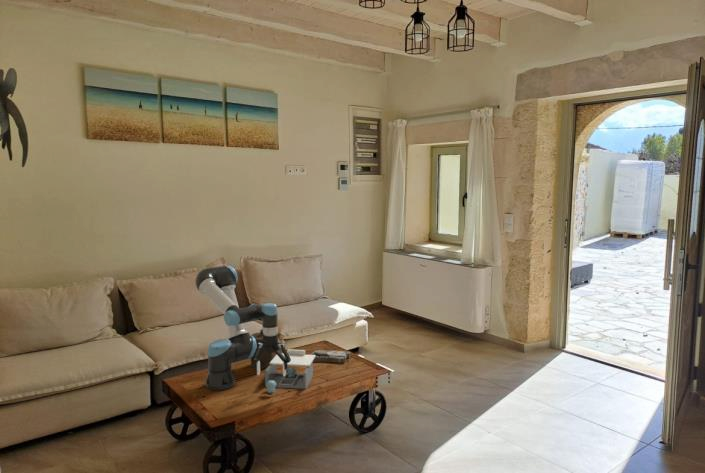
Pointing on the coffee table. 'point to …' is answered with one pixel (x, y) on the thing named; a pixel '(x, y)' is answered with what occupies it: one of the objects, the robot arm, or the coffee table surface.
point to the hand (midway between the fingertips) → (271, 374)
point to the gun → (330, 356)
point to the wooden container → (266, 356)
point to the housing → (285, 382)
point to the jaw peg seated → (291, 372)
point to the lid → (295, 358)
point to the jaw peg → (271, 386)
